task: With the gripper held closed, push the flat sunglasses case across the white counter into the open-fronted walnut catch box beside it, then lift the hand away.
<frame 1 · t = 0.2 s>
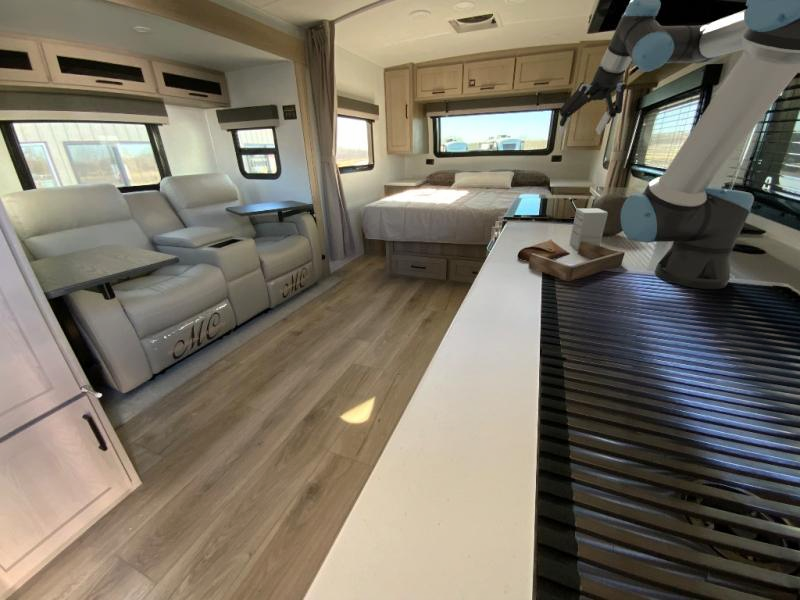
hand: (578, 133, 115), 36 cm above the worktop, tool tilted 35°, fingers open, 13 cm apart
sunglasses case: (543, 257, 107), on the worktop
catch box: (574, 265, 98), on the worktop
supplement box: (583, 247, 115), on the worktop
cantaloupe: (605, 235, 128), on the worktop
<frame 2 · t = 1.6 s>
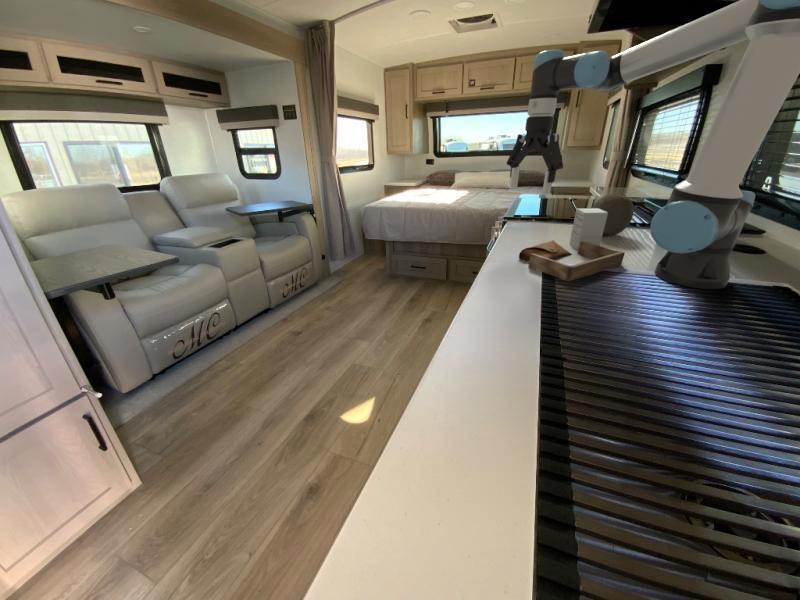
hand: (528, 190, 107), 19 cm above the worktop, tool pointing down, fingers open, 13 cm apart
nothing on the worktop moved.
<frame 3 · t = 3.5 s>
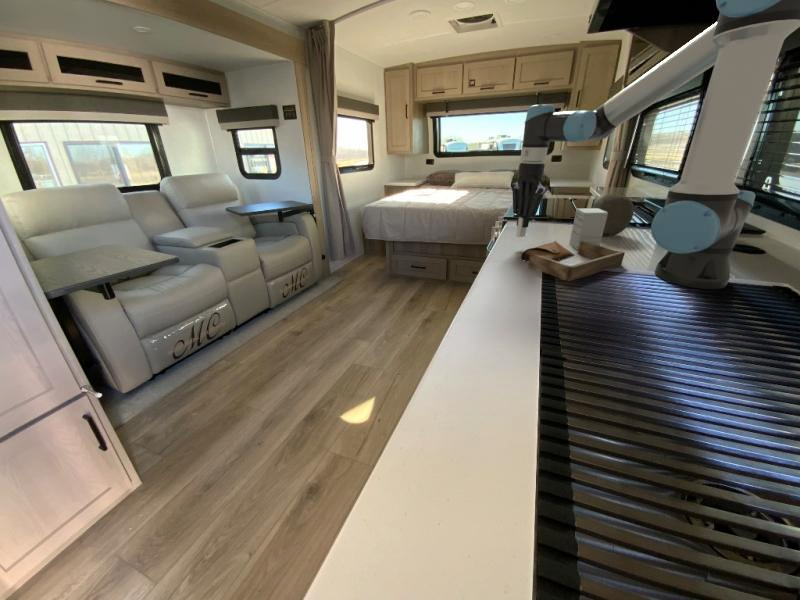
hand: (520, 236, 114), 4 cm above the worktop, tool pointing down, fingers closed
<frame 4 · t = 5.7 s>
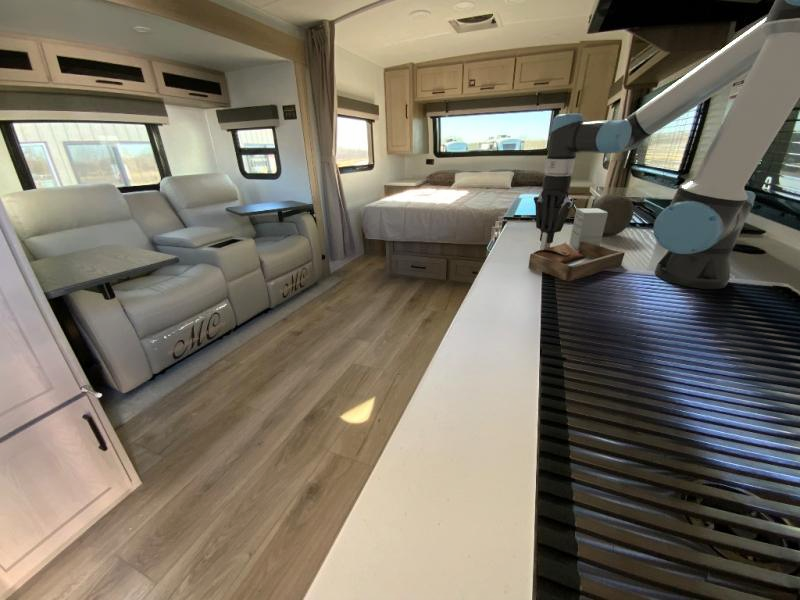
hand: (544, 252, 107), 1 cm above the worktop, tool pointing down, fingers closed
sunglasses case: (557, 261, 104), on the worktop
everything else where it was.
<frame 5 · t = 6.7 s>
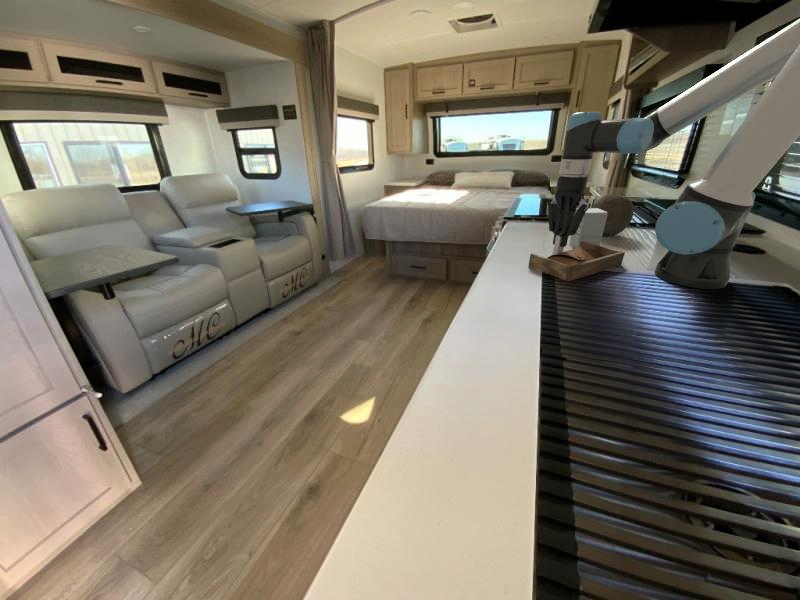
hand: (557, 255, 103), 1 cm above the worktop, tool pointing down, fingers closed
sunglasses case: (571, 266, 100), on the worktop
everything else where it was.
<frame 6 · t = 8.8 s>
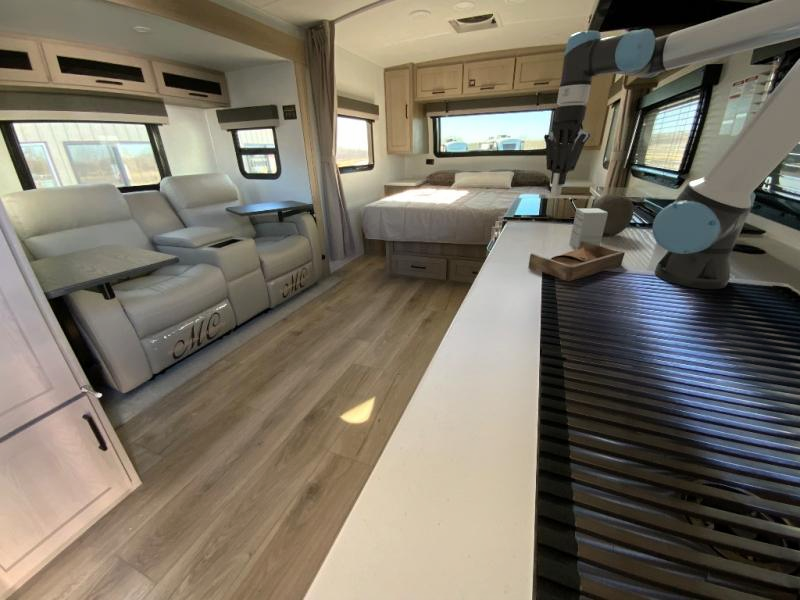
hand: (555, 195, 99), 19 cm above the worktop, tool pointing down, fingers closed
sunglasses case: (575, 267, 99), on the worktop
everything else where it was.
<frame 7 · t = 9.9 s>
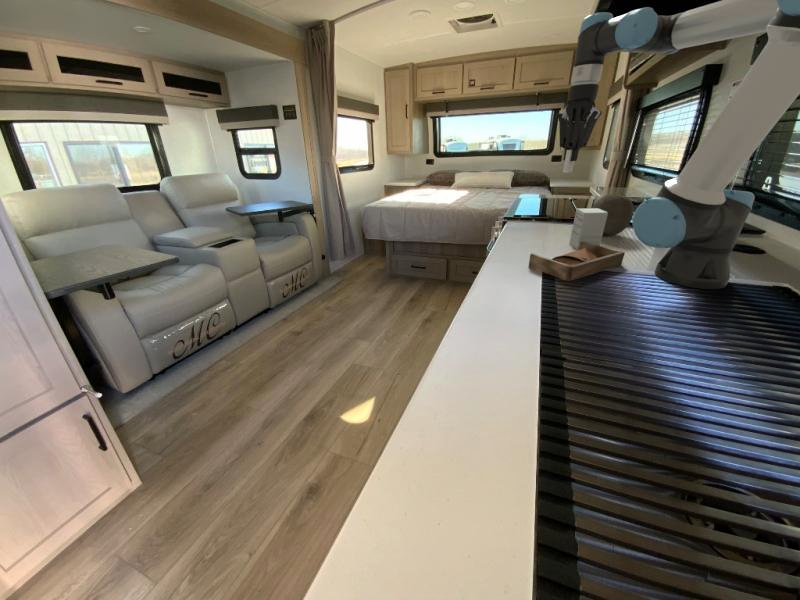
hand: (567, 172, 105), 24 cm above the worktop, tool pointing down, fingers closed
nothing on the worktop moved.
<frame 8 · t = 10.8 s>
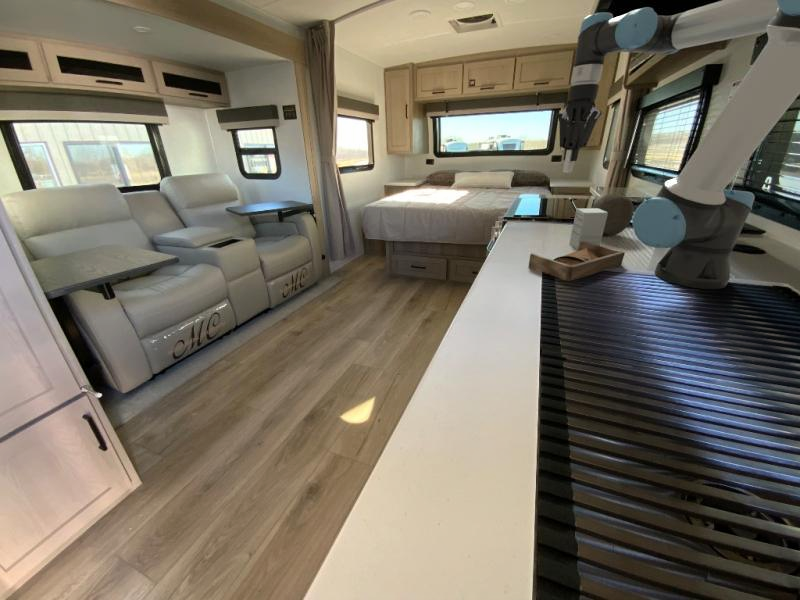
hand: (567, 172, 105), 24 cm above the worktop, tool pointing down, fingers closed
nothing on the worktop moved.
at the end: sunglasses case inside the target area (1.6 cm from its centre), on the worktop; sunglasses case tilted 1° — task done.
